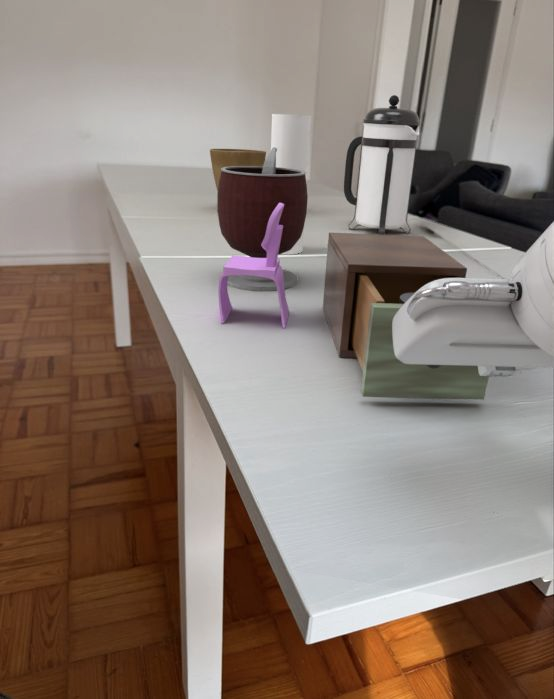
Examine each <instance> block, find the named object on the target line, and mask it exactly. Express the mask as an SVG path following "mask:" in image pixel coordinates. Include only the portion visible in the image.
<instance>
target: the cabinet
mask: <svg viewBox="0 0 554 699" xmlns="http://www.w3.org/2000/svg"><path fill="white" fill-rule="evenodd" d="M327 239H328V240H327V250H326V262H325V276H324V286H323V287H324V288H323V298H322V311H323V313H324V316H325V320H326V322H327V325H328V329H329V331H330V334H331V338H332V340H333V343H334V347H335V349H336V352H337V355H338V358H342V359H343V358H344V359H346V358H347V359H348V358H349V359H357V356H356V354H355V351H354V349H353V347H352V344H351V342H350V339H349V333H350V324H351V314H352V304H353V295H354V285H355V275H356V273H385V274H415V275H444V276H450V277H451V278H467V272H468V268H467V267H466V266H465V265H463V264H462V263H460V262H459V260H457V259H455V258H454V257H452V256H451V255H449V253H447V252H445V251H444V250H443V249H441V248H440V247H438V246H437V244H434V243H433V242H432V241H431V240H429V239H428V238H426V237H425V235H410V234H409V235H405V234H404V235H403V234H384V235H382V234H378V233H374V234H373V233H356V232H355V233H354V232H353V233H351V232H328V238H327ZM355 272H356V273H355Z"/></svg>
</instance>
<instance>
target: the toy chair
mask: <svg viewBox="0 0 554 699" xmlns="http://www.w3.org/2000/svg"><path fill="white" fill-rule="evenodd" d="M283 207H284V204H283V203H279V204H278V205H277V207H276V208H275V209H274V211H273V213H272V214H271V216H270V219H269V221H268V225H267V230H266V234H265V237H264V240H263V242H262V244H261V246H262V247H263V249H265V250H266V252H267V258H253V257H250V256H246V255H234V254H232V255H231V256H230V258H229V260H228V261H227V262H226V263H225V264H224V266H223V267H222V274H221V276H220V277H219V280H218V291H217V292H218V308H219V317H220V324H225V322H226V321H227V319H228V317H229V316H230V313H231V311H232V309H233V306H232V302H231V300H230V295H229V291H228V285H227V282H228V275H252V276H258V277H265V278H270V279H272V280H273V281H274V282H275V283H276V286H277V290H276V291H277V296H278V302H279V308H280V309H279V310H280V317H281V326H282V329H286V328H287V323H288V320H289V315H290V309H289V305H288V302H287V296H286V291H285V290H286V289H284V277H283V270H282V269H283V267H282V266H281V264H280V263H281V260H280V259H281V258H278V257H279V255H278V252H279V247H280V241H281V235H282V230H283V225H278V224H279V220H280V217H281V214H282V211H283Z"/></svg>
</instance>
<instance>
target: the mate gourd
mask: <svg viewBox="0 0 554 699" xmlns="http://www.w3.org/2000/svg"><path fill="white" fill-rule="evenodd" d="M276 152H277V148H276V147H273V148H272V150H271V149H270V150H269V153H268V154H267V155H266V157H265V162H264V165H263V166H231V167H223V168H221V175H220V179H219V186H218V191H217V193H216V194H217V195H216V196H217V201H216V202H217V207H216V208H217V209H216V210H217V216H218V224H219V225H218V226H219V229H220V233H221V235H222V237H223V238H224V239H225V241H226V243H227V244H228V245H229V247H230V248H231V249H233V250H235V251H237V252H239V253H241V254H244V255H245V256H247V257H253V258H267V252H266V250H265V249H263V247H262V246H261V244H262V242H263V240H264V237H265V234H266V230H267V225H268V221H269V219H270V216H271V214H272V213H273V211H274V209H275V208H276V207H277V205H278V204H279V203H283V204H284V207H283V211H282V214H281V217H280V220H279V224H278V225H283V230H282V235H281V241H280V247H279V252H278V256H279V255H283V254H282V253H284V252H287V251H289V250H291V249H292V248H293V246H294V245H295V244H296V243H297V241H298V240H299V239H300V238H301V235H302V232H303V228H304V229H305V223H306V219H307V213H308V196H309V195H308V182H307V183H306V177H305V174H306V172H305V171H302V170H296V169H289V168H279V167H276ZM282 270H283V277H284V289H285V290H286V289H290V288H293V287H294V286H296V285H297V284H298V276H297V274H295V273H294V272H292V271H291V270H287V269H284V268H282ZM227 286H230V287H232V288H236V289H239V290H240V289H241V290H248V291H257V292H258V291H259V292H271V291H278V290H277V286H276V283H275V282H274V281H273V280H272V279H270V278H265V277H258V276H252V275H228V282H227Z"/></svg>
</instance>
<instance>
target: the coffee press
mask: <svg viewBox="0 0 554 699" xmlns="http://www.w3.org/2000/svg"><path fill="white" fill-rule="evenodd" d="M388 102H389V106H388V107H376V108H375V107H374V108H372V109H370V110H369V111H368V112H366V115H365V118H364V119H362V123H363V124H362V125H363V132H362V134H363V135H362V136H357V137H355V138H353V139H352V140H351V142H350V144H349V145H348V148H347V151H346V158H345V165H344V166H345V167H344V178H343V193H344V197H345V200H346V201H347V202H348V203H349V204H351V205H352V206H354V215H353V218H352V219H351V221H350V222H349V223H348V229H349V230H351V231H354V230H355V229H356V228H358V227H364V228H370V229H377V234H382V235H386V230H396V229H401V230H402V231H403V232H404V233H405V234H410V232H411V230H412V229H411V227H410V226H409V224H408V214H409V208H410V207H409V206H410V200H411V193H412V184H413V177H414V169H415V164H416V156H417V148H418V139H417V138H418V137H419V135H420V126H421V125H422V124H421V121H420V118H419V114H418V113H417V112H416V111H414V110H412V109H408V108H400V107H398V106H397V105H399V103H400V98H399V96H397V95H396V94H393V95H391V96H390V97H389V99H388ZM359 146H360V154H359V165H358V174H357V186H356V195H355V196H356V197H355V196H354V194H353V191H352V186H353V185H352V183H353V173H354V172H353V171H354V162H355V155H356V151H357V149H358V147H359ZM354 220H355V222H356V225H355V226H354V227H351V226H350V225H352V223H353V222H354ZM405 224H406V225H407V226H408V231H405V229H403V226H405Z"/></svg>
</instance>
